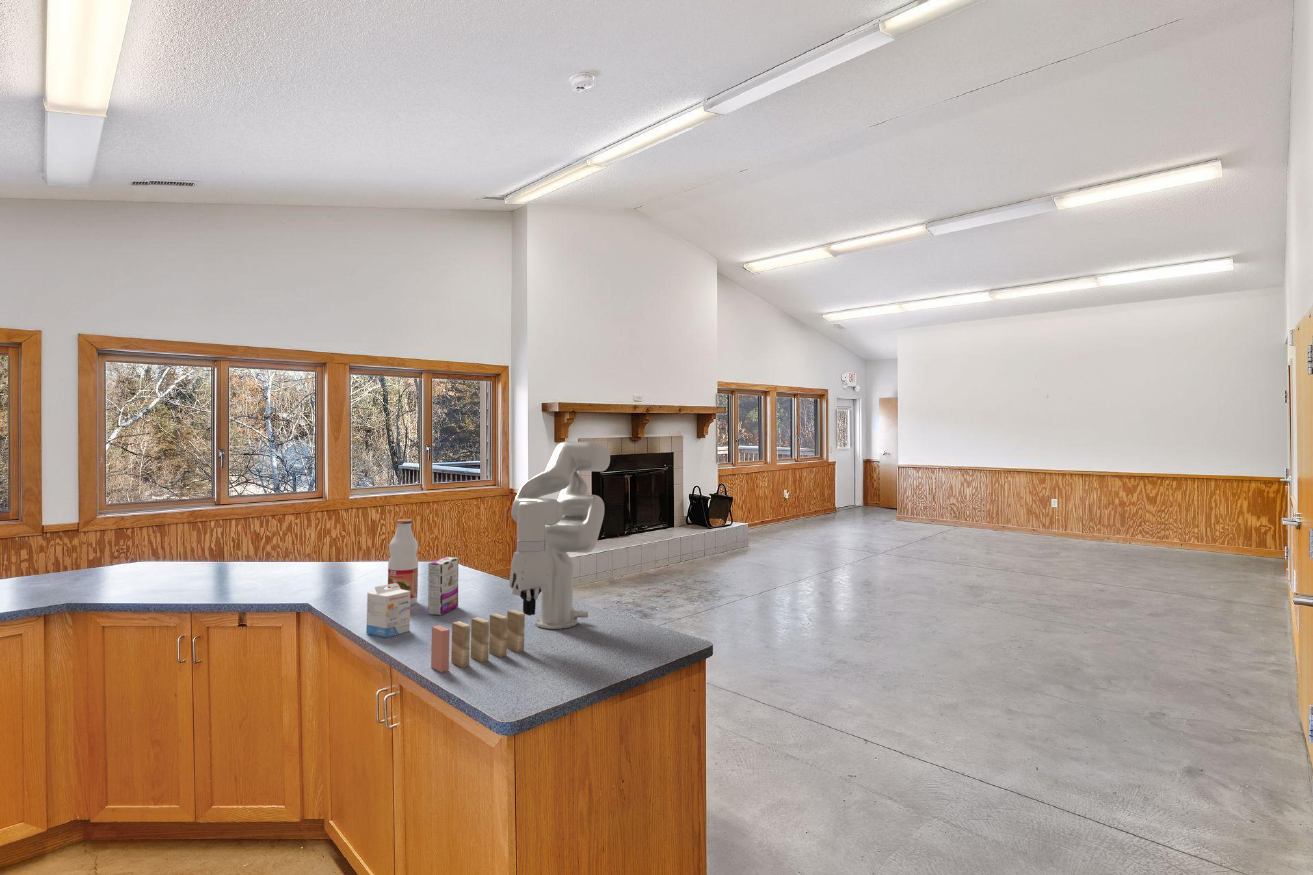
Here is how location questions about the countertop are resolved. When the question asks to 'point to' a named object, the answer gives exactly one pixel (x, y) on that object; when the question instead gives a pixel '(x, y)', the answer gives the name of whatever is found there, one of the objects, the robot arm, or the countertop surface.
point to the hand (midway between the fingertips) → (529, 613)
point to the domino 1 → (440, 648)
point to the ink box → (388, 611)
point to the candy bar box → (442, 586)
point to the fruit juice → (404, 559)
